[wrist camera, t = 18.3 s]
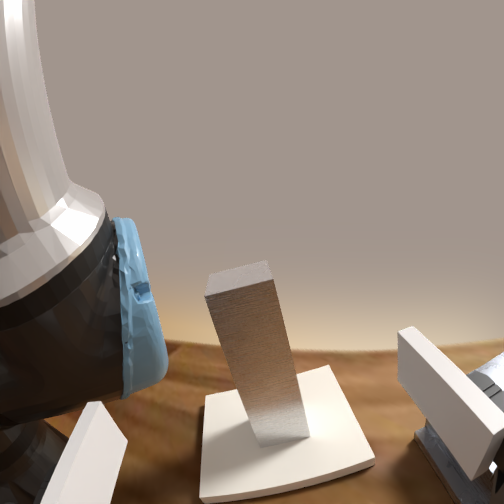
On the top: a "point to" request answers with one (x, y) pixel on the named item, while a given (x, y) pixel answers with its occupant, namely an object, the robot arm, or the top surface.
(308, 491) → the top surface
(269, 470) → the cream pad
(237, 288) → the aluminium plug
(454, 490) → the socket block
